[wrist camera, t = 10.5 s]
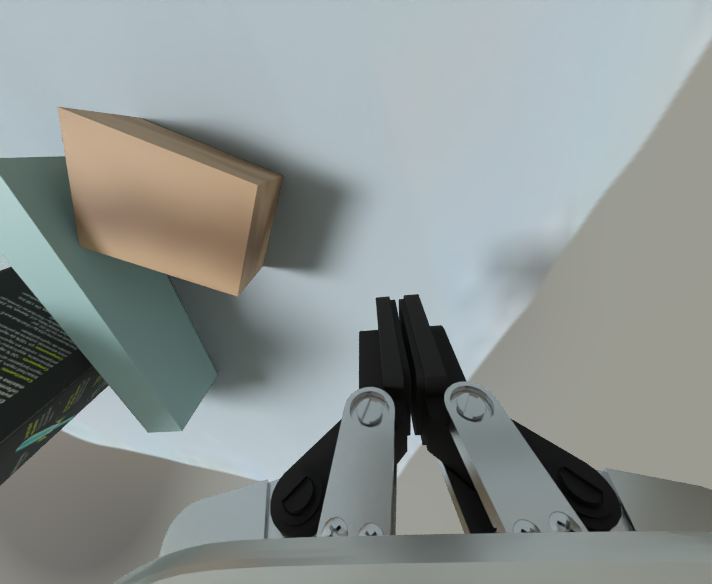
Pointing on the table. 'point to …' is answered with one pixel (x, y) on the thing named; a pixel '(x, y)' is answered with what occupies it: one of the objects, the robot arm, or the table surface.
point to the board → (102, 299)
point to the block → (167, 200)
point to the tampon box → (36, 375)
